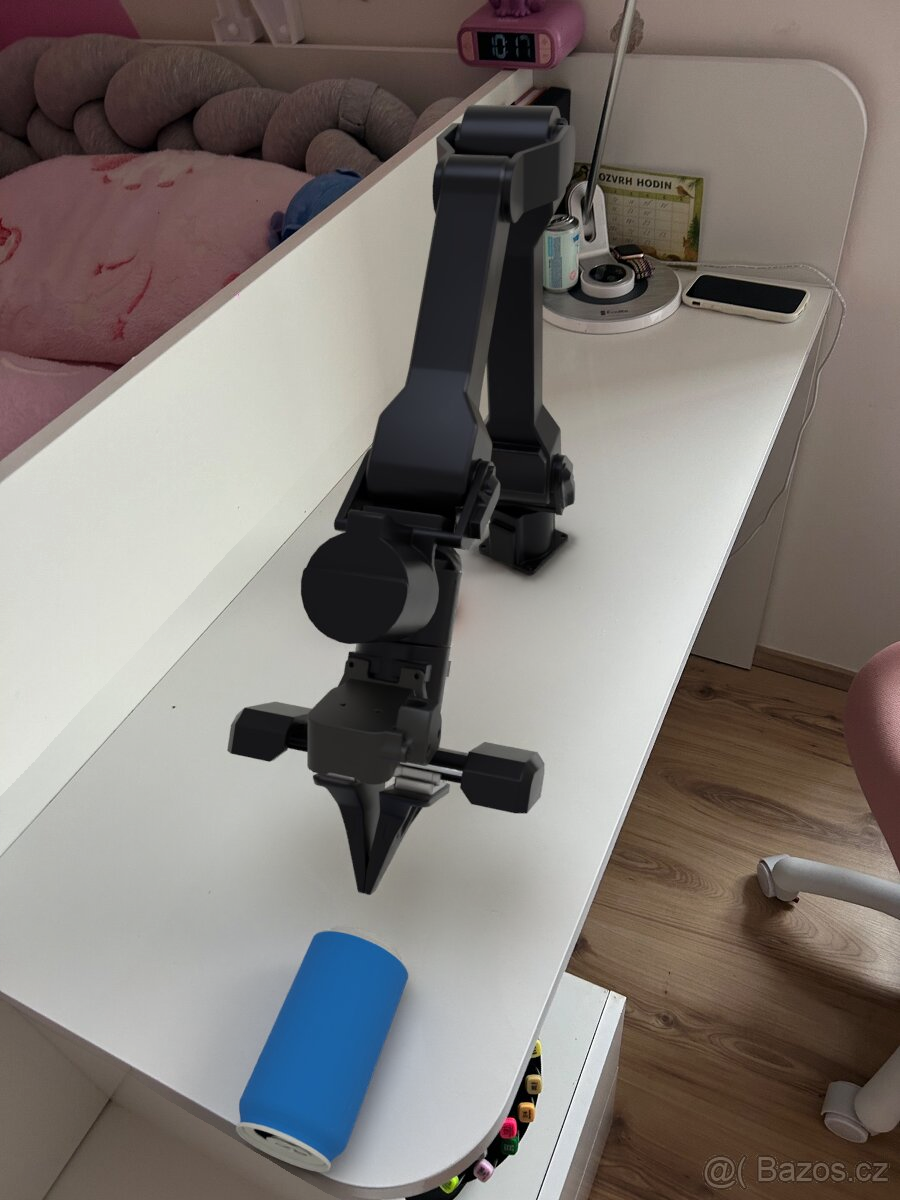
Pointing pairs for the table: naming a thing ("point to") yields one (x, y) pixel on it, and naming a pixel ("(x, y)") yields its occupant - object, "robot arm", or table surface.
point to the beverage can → (323, 1049)
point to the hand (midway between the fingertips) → (366, 892)
